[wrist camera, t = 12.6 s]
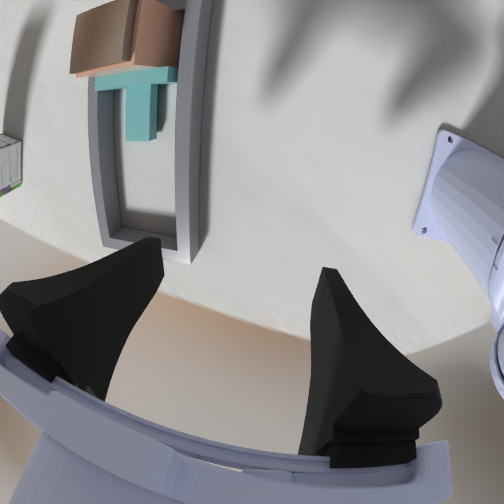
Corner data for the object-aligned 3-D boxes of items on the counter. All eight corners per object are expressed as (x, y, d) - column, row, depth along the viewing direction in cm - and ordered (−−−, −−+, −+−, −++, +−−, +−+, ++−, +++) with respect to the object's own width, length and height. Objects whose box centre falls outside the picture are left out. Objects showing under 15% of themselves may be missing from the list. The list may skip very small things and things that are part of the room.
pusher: (184, 69, 14) (168, 66, 12) (180, 138, 17) (165, 144, 15) (115, 77, 15) (95, 77, 13) (115, 138, 18) (95, 145, 16)
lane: (214, -6, 11) (204, -16, 9) (199, 251, 22) (190, 264, 20) (112, 14, 12) (96, 10, 10) (115, 235, 23) (103, 246, 21)
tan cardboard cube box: (182, 14, 12) (135, -10, 7) (176, 70, 15) (125, 63, 10) (128, 24, 13) (74, 13, 8) (123, 76, 15) (66, 78, 10)
